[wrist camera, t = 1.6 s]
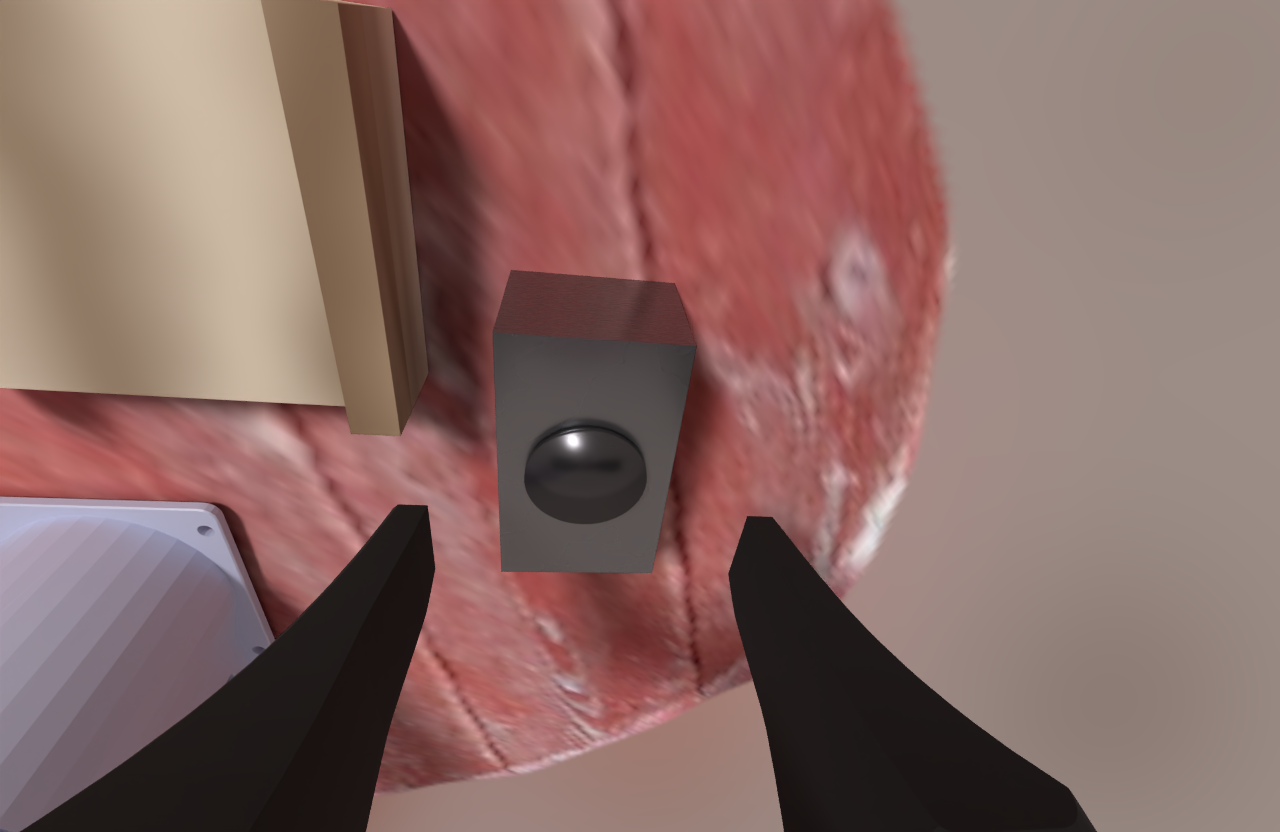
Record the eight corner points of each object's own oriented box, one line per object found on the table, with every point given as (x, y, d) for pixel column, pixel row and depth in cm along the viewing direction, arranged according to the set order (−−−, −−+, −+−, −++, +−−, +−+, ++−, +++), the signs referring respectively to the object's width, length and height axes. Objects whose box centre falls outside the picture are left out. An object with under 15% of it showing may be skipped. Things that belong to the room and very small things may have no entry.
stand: (391, 8, 12) (337, 3, 9) (428, 372, 17) (400, 436, 14) (-330, -101, 10) (-653, -147, 7) (-48, 342, 15) (-179, 408, 12)
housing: (641, 486, 21) (652, 580, 17) (514, 482, 20) (500, 579, 16) (673, 280, 16) (698, 352, 13) (512, 267, 15) (490, 338, 12)
